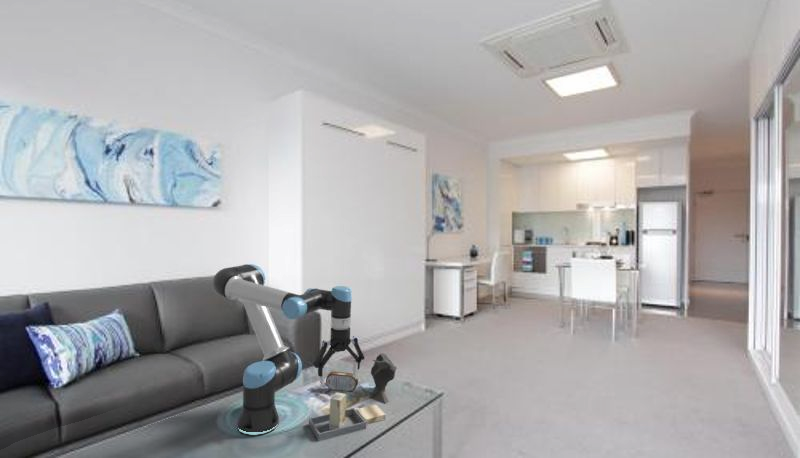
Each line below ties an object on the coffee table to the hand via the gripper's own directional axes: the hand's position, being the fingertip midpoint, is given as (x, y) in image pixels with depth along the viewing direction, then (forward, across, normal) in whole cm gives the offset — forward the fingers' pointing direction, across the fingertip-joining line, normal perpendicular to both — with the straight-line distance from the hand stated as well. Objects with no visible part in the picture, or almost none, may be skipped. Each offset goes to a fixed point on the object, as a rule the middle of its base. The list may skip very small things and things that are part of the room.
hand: (338, 380), depth 158 cm
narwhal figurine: (+19, +29, +18) cm, 39 cm away
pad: (+18, +15, +1) cm, 24 cm away
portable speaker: (+19, +13, +28) cm, 36 cm away
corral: (+18, 0, 0) cm, 18 cm away
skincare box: (+19, 0, 0) cm, 19 cm away
